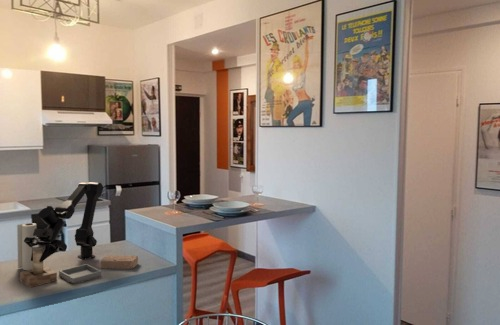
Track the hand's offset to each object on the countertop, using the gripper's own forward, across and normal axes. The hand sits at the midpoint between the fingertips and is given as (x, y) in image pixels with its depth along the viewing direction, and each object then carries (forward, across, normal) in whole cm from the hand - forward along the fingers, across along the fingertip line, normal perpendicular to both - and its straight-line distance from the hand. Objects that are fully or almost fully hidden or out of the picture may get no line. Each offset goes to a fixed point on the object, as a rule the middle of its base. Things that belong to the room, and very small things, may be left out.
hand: (35, 261), depth 175 cm
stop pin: (+4, 0, +6) cm, 7 cm away
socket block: (+5, 0, +7) cm, 9 cm away
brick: (-14, +23, +27) cm, 38 cm away
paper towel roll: (-2, -15, +15) cm, 21 cm away
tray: (-1, +14, +14) cm, 20 cm away
